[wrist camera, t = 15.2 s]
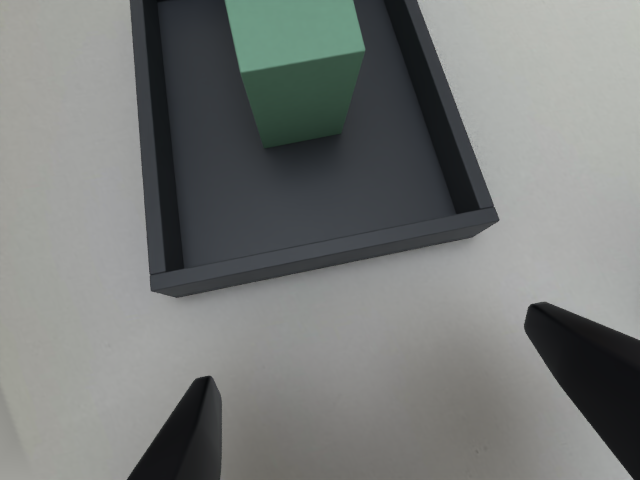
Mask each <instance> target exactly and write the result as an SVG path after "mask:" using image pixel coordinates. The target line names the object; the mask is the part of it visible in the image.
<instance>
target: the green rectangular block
mask: <svg viewBox="0 0 640 480" xmlns="http://www.w3.org/2000/svg"><path fill="white" fill-rule="evenodd" d="M225 5H226V9H227V14H228V19H229V23H230V28H231V33H232V37H233V42H234V47H235V51H236V56H237V60H238V65H239V70H240V74H241V77H242V80H243V83H244V87H245V90H246V93H247V96H248V99H249V103H250V106H251V109H252V112H253V115H254V119H255V122H256V125H257V128H258V131H259V135H260V138H261V141H262V144H263V147H264V148H270V147H275V146H280V145H285V144H290V143H295V142H300V141H305V140H311V139H316V138H321V137H326V136H331V135H336V134H341V133H342V129H343V126H344V123H345V119H346V116H347V112H348V109H349V105H350V102H351V98H352V95H353V91H354V88H355V85H356V81H357V78H358V74H359V71H360V67H361V64H362V60H363V57H364V54H365V46H364V42H363V38H362V34H361V30H360V26H359V22H358V18H357V14H356V10H355V6H354V2H353V0H225Z"/></svg>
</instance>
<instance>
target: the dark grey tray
mask: <svg viewBox="0 0 640 480" xmlns="http://www.w3.org/2000/svg"><path fill="white" fill-rule="evenodd" d="M353 2H354V6H355V10H356V14H357V18H358V22H359V26H360V30H361V34H362V38H363V42H364V46H365V54H364V57H363V60H362V64H361V67H360V71H359V74H358V78H357V81H356V85H355V88H354V91H353V95H352V98H351V102H350V105H349V109H348V112H347V116H346V119H345V123H344V126H343V129H342V133H341V134H336V135H331V136H326V137H321V138H316V139H311V140H305V141H300V142H295V143H290V144H285V145H280V146H275V147H270V148H264V147H263V144H262V141H261V138H260V135H259V131H258V128H257V125H256V122H255V119H254V115H253V112H252V109H251V106H250V103H249V99H248V96H247V93H246V90H245V87H244V83H243V80H242V77H241V74H240V70H239V65H238V60H237V56H236V51H235V47H234V42H233V37H232V33H231V28H230V23H229V19H228V14H227V9H226V5H225V0H130V9H131V22H132V36H133V50H134V64H135V78H136V92H137V106H138V119H139V133H140V147H141V161H142V175H143V189H144V203H145V216H146V230H147V244H148V258H149V272H150V287H151V291H153V292H157V293H160V294H164V295H168V296H172V297H176V298H177V297H182V296H187V295H192V294H197V293H202V292H207V291H212V290H216V289H221V288H226V287H231V286H236V285H241V284H246V283H251V282H256V281H260V280H265V279H270V278H275V277H280V276H285V275H290V274H295V273H299V272H304V271H309V270H314V269H319V268H324V267H329V266H334V265H339V264H343V263H348V262H353V261H358V260H363V259H368V258H373V257H378V256H382V255H387V254H392V253H397V252H402V251H407V250H412V249H417V248H422V247H426V246H431V245H436V244H441V243H446V242H451V241H456V240H461V239H466V238H470V237H474V236H475V235H477V234H478V233H480V232H482V231H483V230H485V229H487V228H488V227H490V226H492V225H493V224H495V223H496V222H498V221H499V217H498V215H497V212H496V209H495V207H494V204H493V202H492V199H491V196H490V194H489V191H488V188H487V186H486V183H485V180H484V178H483V175H482V172H481V170H480V167H479V164H478V162H477V159H476V157H475V154H474V151H473V149H472V146H471V143H470V141H469V138H468V135H467V133H466V130H465V127H464V125H463V122H462V119H461V117H460V114H459V111H458V109H457V106H456V103H455V101H454V98H453V95H452V93H451V90H450V87H449V85H448V82H447V79H446V77H445V74H444V71H443V69H442V66H441V63H440V61H439V58H438V55H437V53H436V50H435V47H434V45H433V42H432V40H431V37H430V34H429V32H428V29H427V26H426V24H425V21H424V18H423V16H422V13H421V10H420V8H419V5H418V2H417V0H353Z"/></svg>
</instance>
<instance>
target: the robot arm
mask: <svg viewBox="0 0 640 480" xmlns="http://www.w3.org/2000/svg"><path fill="white" fill-rule="evenodd" d="M524 329H525V332H526V334H527V336H528V337H529V339H530V340H531V342H532V343H533V345H534V347H535V348H536V350H537V351H538V353H539V354H540V356H541V357H542V359H543V361H544V362H545V364H546V365H547V367H548V368H549V370H550V371H551V373H552V375H553V376H554V377H555V379H556V380H557V382H558V383H559V385H560V386H561V387H562V389H563V390H564V391H565V392H566V394H567V395H568V396H569V398H570V399H571V400H572V401H573V403H574V404H575V405H576V407H577V408H578V409H579V410H580V412H581V413H582V414H583V415H584V417H585V418H586V419H587V421H588V422H589V423H590V424H591V426H592V427H593V428H594V429H595V431H596V432H597V433H598V435H599V436H600V437H601V438H602V440H603V441H604V442H605V444H606V445H607V446H608V447H609V449H610V450H611V451H612V452H613V454H614V455H615V456H616V458H617V459H618V460H619V461H620V463H621V464H622V465H623V466H624V468H625V469H626V470H627V472H628V473H629V474H630V475H631V477H632V478H633V479H634V480H640V340H638V339H635V338H633V337H630V336H628V335H625V334H623V333H621V332H618V331H616V330H613V329H611V328H608V327H606V326H603V325H601V324H599V323H596V322H594V321H591V320H589V319H586V318H584V317H581V316H579V315H577V314H574V313H572V312H569V311H567V310H564V309H562V308H559V307H557V306H555V305H552V304H550V303H547V302H540V303H535V304H531V305H530V306H529V307H528V310H527V315H526V319H525V323H524ZM221 460H222V400H221V395H220V392H219V390H218V388H217V386H216V384H215V381H214V379H213V378H212V376H205V377H200V378H197V379H195V380H194V381H193V383H192V384H191V386H190V387H189V389H188V390H187V392H186V393H185V394H184V396H183V397H182V399H181V400H180V402H179V403H178V405H177V406H176V408H175V409H174V411H173V412H172V414H171V415H170V417H169V418H168V420H167V421H166V422H165V424H164V425H163V427H162V428H161V430H160V431H159V433H158V434H157V436H156V437H155V439H154V440H153V442H152V443H151V445H150V446H149V448H148V449H147V451H146V452H145V453H144V455H143V456H142V458H141V459H140V461H139V462H138V464H137V465H136V467H135V468H134V470H133V471H132V473H131V474H130V476H129V477H128V479H127V480H220V475H221Z"/></svg>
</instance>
